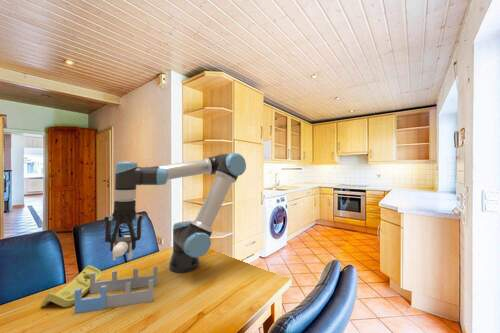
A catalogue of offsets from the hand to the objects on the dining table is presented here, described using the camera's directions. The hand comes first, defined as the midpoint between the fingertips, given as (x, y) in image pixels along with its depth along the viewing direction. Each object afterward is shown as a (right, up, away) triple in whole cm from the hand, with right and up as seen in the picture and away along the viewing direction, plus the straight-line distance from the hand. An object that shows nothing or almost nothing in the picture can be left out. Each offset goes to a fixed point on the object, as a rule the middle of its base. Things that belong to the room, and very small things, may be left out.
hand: (122, 258), depth 87 cm
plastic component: (-20, -16, +2) cm, 26 cm away
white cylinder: (0, +3, 0) cm, 3 cm away
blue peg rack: (-1, -15, 0) cm, 15 cm away
